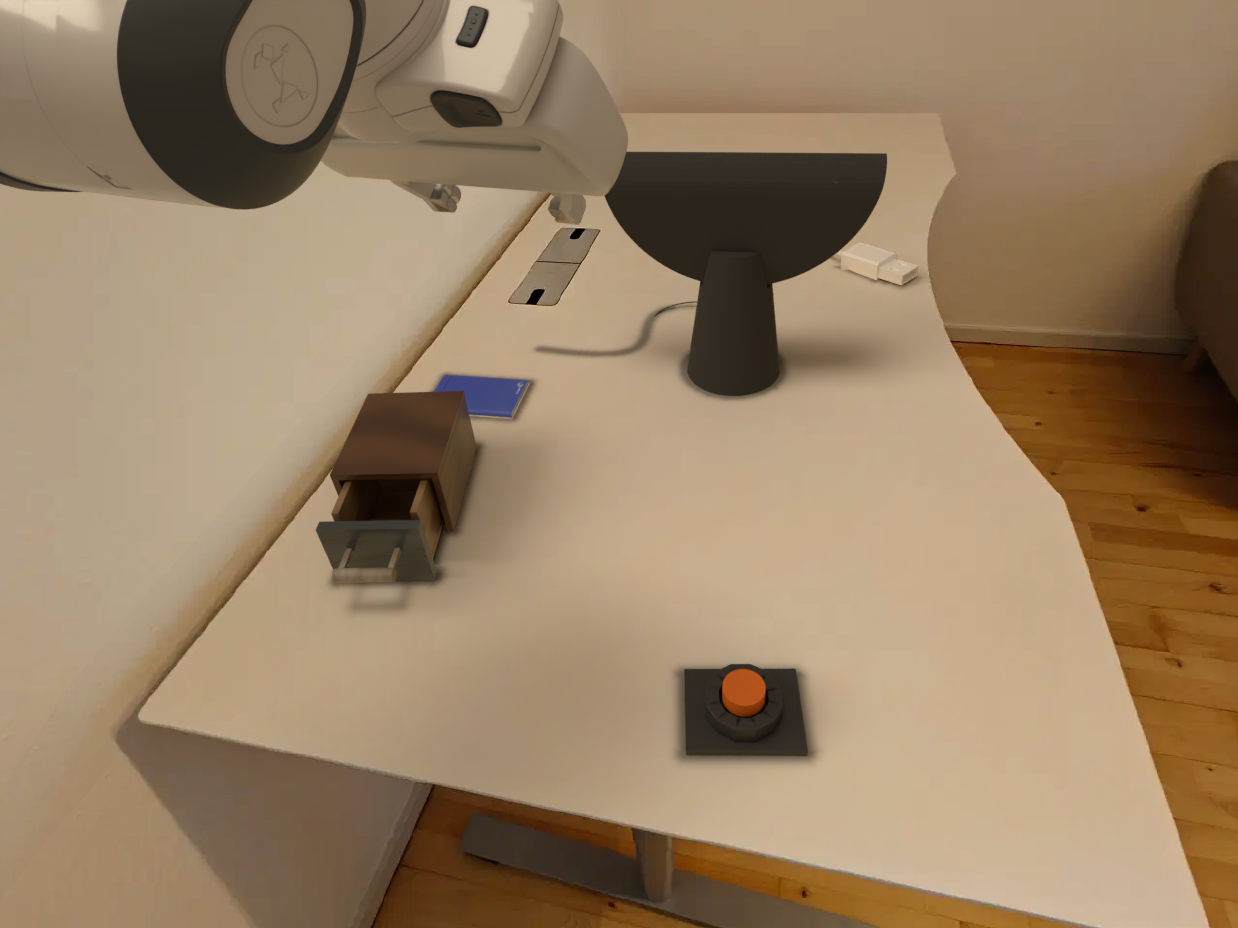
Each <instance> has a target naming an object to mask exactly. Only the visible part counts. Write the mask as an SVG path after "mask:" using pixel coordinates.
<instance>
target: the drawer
mask: <svg viewBox="0 0 1238 928" xmlns="http://www.w3.org/2000/svg"><path fill="white" fill-rule="evenodd" d="M330 515H331V517H332V520H333V521H332V520H330V521H329V520H328V521H327V520H326V521H318V523H317V526H316V528H315V532H316V534H317V536H318V539H319V541H320V543H321V545H322V548H323V550H324V553H325V555H326V557H327V559H328V562H329V564H330V566H331V569H332V573H331V579H332V582H333V583H335V584H337V583H338V584H339V583H341V584H342V583H343V584H344V583H395V582H425V581H426V582H427V581H428V582H429V581H432V582H433V581H436V577H437V574H438V571H437V567H436V564H435V561H434V557H435V554H436V550H437V547H438V544H439V540H440V537H441V533H442V530H443V527H444V524H445V522H444V518H443V515H442V511H441V508H440V505H439V501H438V498H437V494H436V491H435V488H434V484H433V481H432V478H425V479H377V480H346V481H345V483H344V485H343V488H342V490H341V492H340V494H339V497H338V496H337V499H336V501H335V503H334V506H333V508H332V510H331V512H330Z"/></svg>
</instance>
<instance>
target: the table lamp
mask: <svg viewBox="0 0 1238 928" xmlns="http://www.w3.org/2000/svg"><path fill="white" fill-rule="evenodd" d="M887 154H888V153H885V152H883V153H881V152H878V153H877V152H873V153H872V152H871V153H870V152H763V151H762V152H755V151H754V152H752V151H751V152H750V151H749V152H748V151H747V152H745V151H742V152H741V151H738V152H737V151H626V155H625V158H624V162H623V165H622V168H621V170H620V173H619V175H618V178H617V180H616V182H615V183H614V185H613V187H612V188H611V189H610V191H609V192H608V193H607V194H606V195H604V196H603V197H604V199H605V201H606V204H607V206H608V207H609V210H610V211H611V214H612V215H613V217H614V218H615V220H616V222H617V223H618V225H619V226H620V227H621V229H622V230H623V231H624V233H625V234H626V235H627V236H628V237H629V238H630V240H631V241H632V242H633V243H634V244H635V245H637V247H638V248H640V250H642V252H644V253H645V254H646V255H647V256H648V257H650V258H652V259H653V260H654V261H656V262H657V263H659V264H661V265H662V266H664V267H665V268H667V269H669V270H671V271H673V272H675V273H677V274H679V275H681V276H684V277H686V278H689V279H692V280H695V281H698V282H699V287H698V294H697V300H696V301H684V302H679V303H675V304H672V305H669V306H667V307H664V308H662V309H661V310H659V311H658V312H657V313H656V314H655V315H653V318H654V317H656V316H657V315H658V314H660V313H661V312H663V311H665V310H667V309H669V308H671V307H675V306H678V305H684V304H694V303H696V308H695V314H694V321H693V328H692V335H691V342H690V347H689V355H688V361H687V367H686V372H687V376H688V378H689V379H690V381H691V382H692V384H694V385H695V386H696V387H698V388H699V389H701V390H703V391H705V392H708V393H711V394H714V395H718V396H725V397H743V396H744V397H745V396H750V395H754V394H758V393H760V392H763V391H765V390H767V389H768V388H770V387H772V385H774V384H775V383H776V381H777V380H778V378H779V376H780V371H781V369H780V356H779V346H778V334H777V333H778V332H777V323H776V310H775V309H776V308H775V298H774V297H775V296H774V287H773V286H774V285H773V284H777V283H780V282H785V281H787V280H790V279H793V278H796V277H798V276H801V275H803V274H805V273H807V272H810V271H811V270H813V269H815V268H817V267H818V266H820V265H822V264H823V263H825V262H827V261H828V260H829V259H831V258H833V256H835V255H836V253H837V252H839V251H840V250H841V251H842V249H844V247H846V246H847V245H848V244H849V243H850V242H851V241H852V240H853V239H854V238H855V236H856V235H857V234H858V233H859V232H860V231H861V230H862V228H863V227H864V226H865V225H866V223H867V221H868V220H869V218H870V217H871V215H872V213H873V211H874V209H875V208H876V206H877V204H878V202H879V201H880V197H881V195H882V192H883V190H884V187H885V182H886V177H887V170H888V155H887Z"/></svg>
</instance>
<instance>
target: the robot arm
mask: <svg viewBox="0 0 1238 928" xmlns="http://www.w3.org/2000/svg"><path fill="white" fill-rule="evenodd" d="M564 18H565V17H564V11H563V8H562V6H561V4H560V2H559V0H0V185H3V186H5V187H6V186H7V187H10V188H13V189H18V190H22V191H23V190H24V191H29V192H32V191H33V192H42V193H43V192H45V193H47V192H48V193H49V192H50V193H90V194H99V195H108V196H114V197H115V196H116V197H122V198H123V197H124V198H133V199H140V200H147V201H154V202H155V201H156V202H167V203H175V204H182V205H191V206H198V207H199V206H200V207H207V208H218V209H220V208H222V209H229V210H244V211H245V210H256V209H260V208H261V209H262V208H265V207H269V206H271V205H274V204H277V203H278V202H281V201H283V200H284V199H286V198H287V197H289V196H291V195H292V194H294V193H295V192H296V191H297V190H298V189H299V188H301V187H302V186H303V185H304V184H305V182H306V181H307V180H308V179H309V178H310V177H311V175H312V174H313V172H315V170H316V169H317V168H318V166H319V164H320V162H321V163H322V164H323V165H324V166H326V167H327V168H329V169H330V170H332V171H334V172H336V173H338V174H339V175H340V176H344V177H347V178H356V179H357V178H358V179H371V180H385V181H390V182H391V183H392V184H393V185H395V186H397V187H399V188H400V189H402V190H404V191H406V192H407V193H410V194H411V195H413V196H415V197H417V198H419V199H422V200H423V201H424V202H425V203H426V205H427V206H428V207H429V208H430V209H431V210H432V211H433V212H435V213H451V214H454V213H456V211H457V209H458V203H460V202H461V199H462V192H461V189H460V188H459V187H458V186H460V187H461V186H462V187H472V188H473V187H474V188H486V189H487V188H488V189H498V190H499V189H500V190H512V191H523V192H524V191H525V192H537V193H538V192H539V193H549V194H550V195H551V196H553V198H551V200H550V202H549V204H548V207H547V211H548V212H549V214H550V215H551V217H553V218H554V221H555V222H556V223H557V224H567V225H573V226H575V225H576V226H579V225H580V224H581V223H582V220H583V217H584V214H585V212H586V208H587V202H586V198H585V196H588V197H589V196H590V197H605V196H604V195H606V194H607V193H608V192H609V191H610V189H611V188H612V187H613V185H614V183H615V182H616V180H617V178H618V175H619V173H620V170H621V168H622V165H623V162H624V158H625V155H626V152H628V147H629V134H628V130H627V126H626V124H625V122H624V118H623V117H622V115H621V112H620V110H619V108H618V106H617V104H616V102H615V100H614V98H613V96H612V94H611V93H610V90H609V89H608V87H607V85H606V83H605V82H604V80H603V78H602V76H601V74H600V73H599V71H598V69H597V68H596V67H595V65H594V63H593V62H592V60H591V59H590V58H589V57H588V55H586V53H585V52H583V50H582V49H581V48H580V47H578V46H577V45H576V44H575V43H573V42H571V41H570V40H568V39H567V38H565V37H562V36H560V35H561V32H562V27H563V23H564V22H563V21H564Z"/></svg>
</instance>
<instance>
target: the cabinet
mask: <svg viewBox="0 0 1238 928" xmlns="http://www.w3.org/2000/svg"><path fill="white" fill-rule="evenodd" d="M477 449H478V447H477V441H476V437H475V434H474V430H473V425H472V420H471V416H469V412H468V408H467V403H466V399H465V395H464V391H441V392H434V391H412V392H411V391H410V392H408V391H407V392H377V393H376V392H375V393H367V395H366V397H365V400H364V401H363V403H362V406H361V408H360V410H359V412H358V414H357V416H356V418H355V420H354V423H353V424H352V427H351V429H350V431H349V433H348V435H347V437H346V440H345V442H344V444H343V446H342V448H341V450H340V452H339V455H338V456H337V459H336V461H335V462H334V465H333V467H332V469H331V472H330V473H329V478H330V480H331V481H332V484H333V487H334V489H335V491H336V494H337V498H338V497H339V494H340V492H341V490H342V488H343V485H344V483H345V481H346V480H377V479H425V478H432V481H433V484H434V488H435V491H436V494H437V498H438V501H439V505H440V508H441V511H442V515H443V518H444V525H445V528H446V531H447V532H449V533H450V532H455V529H456V526H457V522H458V518H459V514H460V511H461V507H462V504H463V500H464V496H465V493H466V489H467V486H468V482H469V478H470V475H471V471H472V467H473V464H474V461H475V456H476V453H477Z"/></svg>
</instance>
